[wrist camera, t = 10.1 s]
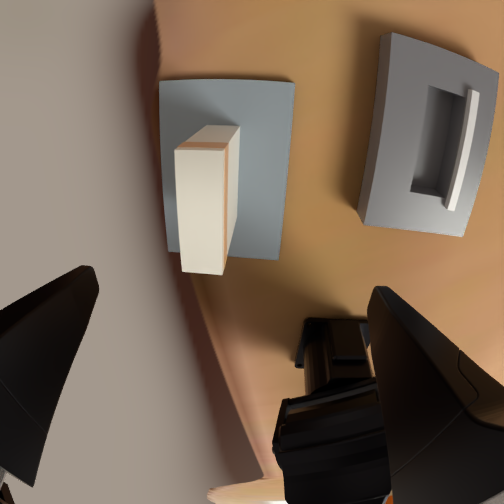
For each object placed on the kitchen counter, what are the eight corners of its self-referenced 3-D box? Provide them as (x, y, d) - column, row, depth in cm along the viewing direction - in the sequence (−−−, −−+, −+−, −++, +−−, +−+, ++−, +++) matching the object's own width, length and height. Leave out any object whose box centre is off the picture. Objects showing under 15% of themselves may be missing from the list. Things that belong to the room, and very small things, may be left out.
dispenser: (450, 223, 20) (465, 240, 18) (356, 211, 20) (365, 228, 18) (482, 70, 14) (503, 73, 12) (380, 35, 14) (394, 31, 12)
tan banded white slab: (237, 217, 21) (222, 275, 15) (206, 215, 21) (181, 271, 15) (240, 125, 17) (223, 150, 12) (206, 124, 17) (173, 149, 12)
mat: (278, 255, 23) (278, 260, 22) (170, 247, 23) (168, 251, 22) (294, 82, 16) (295, 82, 16) (162, 80, 17) (159, 81, 16)
